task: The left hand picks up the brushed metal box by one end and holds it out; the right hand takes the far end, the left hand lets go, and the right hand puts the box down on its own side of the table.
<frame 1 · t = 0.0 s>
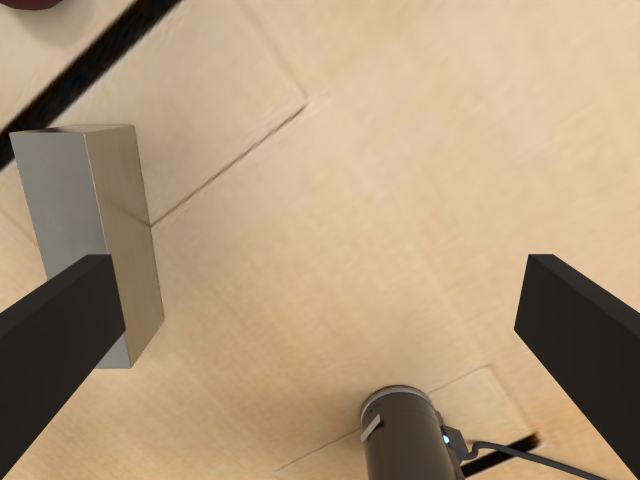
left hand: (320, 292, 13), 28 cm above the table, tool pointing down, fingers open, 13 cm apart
box: (123, 231, 41), on the table
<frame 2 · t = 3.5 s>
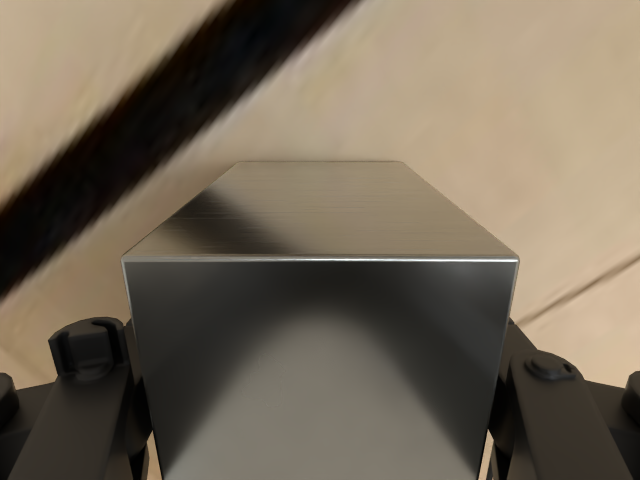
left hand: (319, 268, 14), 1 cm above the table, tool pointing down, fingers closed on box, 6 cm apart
box: (320, 408, 17), on the table, touching left hand
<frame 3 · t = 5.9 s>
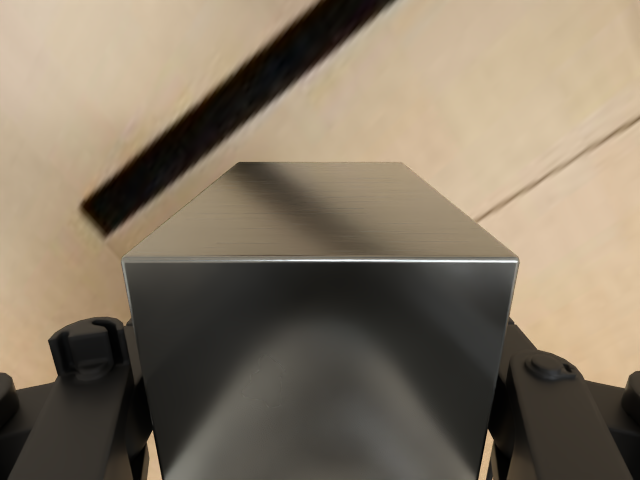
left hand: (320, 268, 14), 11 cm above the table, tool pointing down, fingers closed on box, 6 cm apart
box: (320, 409, 17), point 10 cm above the table, touching left hand
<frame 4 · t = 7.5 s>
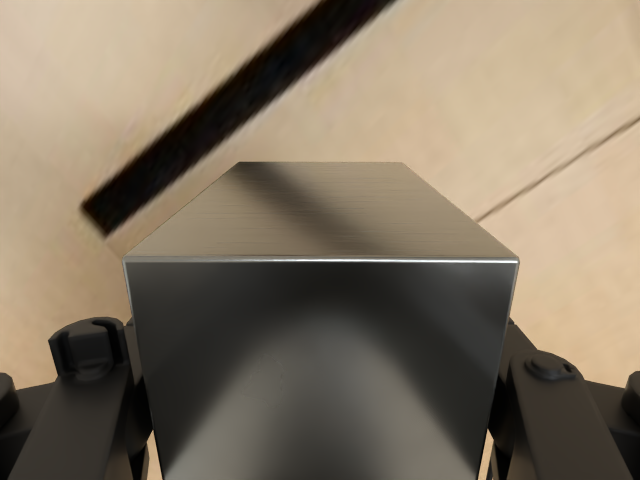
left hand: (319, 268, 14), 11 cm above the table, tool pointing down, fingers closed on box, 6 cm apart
box: (319, 408, 17), point 10 cm above the table, touching left hand, right hand
when the left hand's fingers open (11 cm above the table, at t = 8.5 s): box stays where it is, held by the right hand.
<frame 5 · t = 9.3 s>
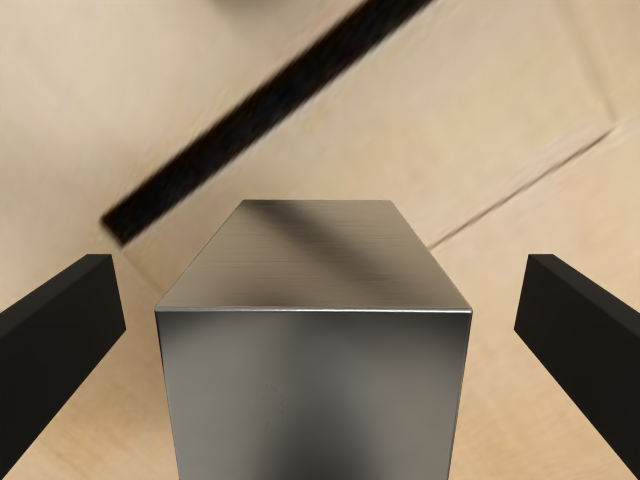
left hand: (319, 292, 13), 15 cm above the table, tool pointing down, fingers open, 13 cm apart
box: (316, 423, 19), point 12 cm above the table, touching right hand
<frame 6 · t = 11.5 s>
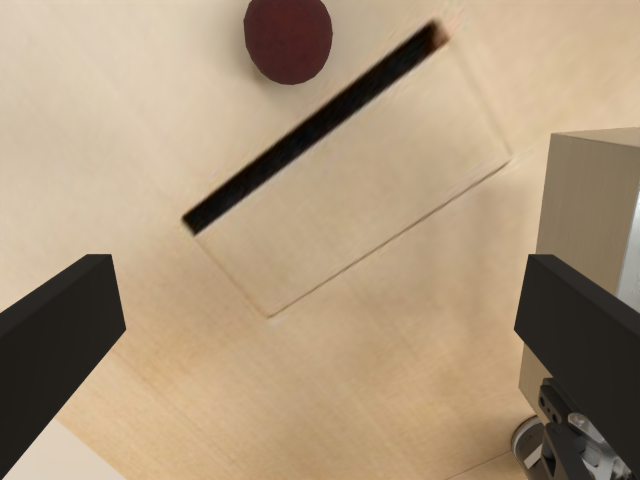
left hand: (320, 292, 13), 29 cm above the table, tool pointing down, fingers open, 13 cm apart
dark red round piece: (291, 41, 36), on the table
box: (569, 273, 31), point 13 cm above the table, touching right hand
when the right hand's fingers open (6 cm above the table, at t = 15.8 s): box drops 1 cm, on the table.
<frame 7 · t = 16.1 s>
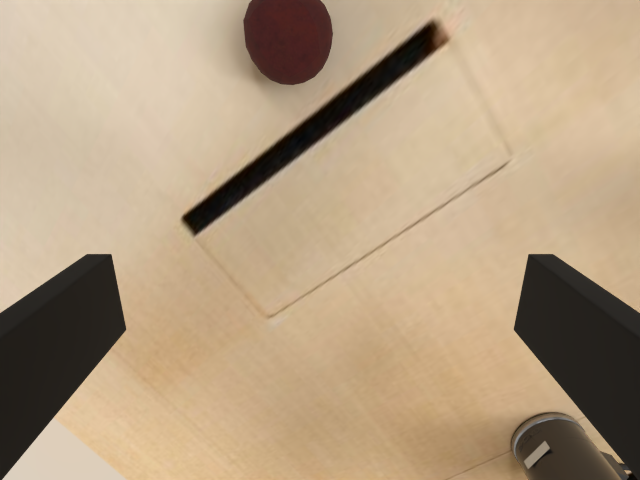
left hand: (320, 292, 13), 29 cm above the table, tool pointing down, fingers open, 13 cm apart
dark red round piece: (291, 41, 36), on the table
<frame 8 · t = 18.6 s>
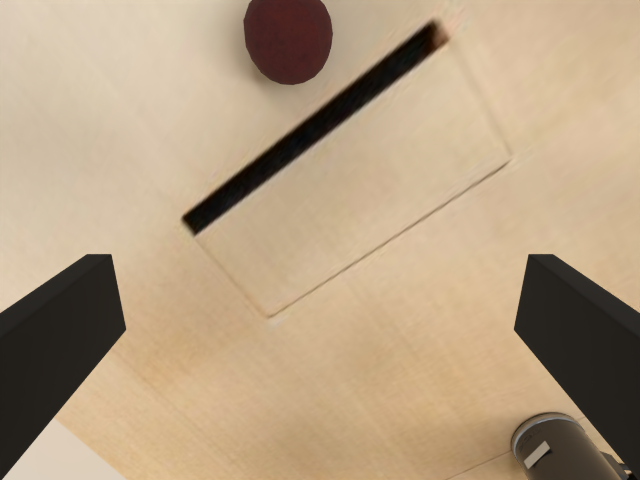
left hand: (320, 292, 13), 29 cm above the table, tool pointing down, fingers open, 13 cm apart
dark red round piece: (291, 41, 36), on the table
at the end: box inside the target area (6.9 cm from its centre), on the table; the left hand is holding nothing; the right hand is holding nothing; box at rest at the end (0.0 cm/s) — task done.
